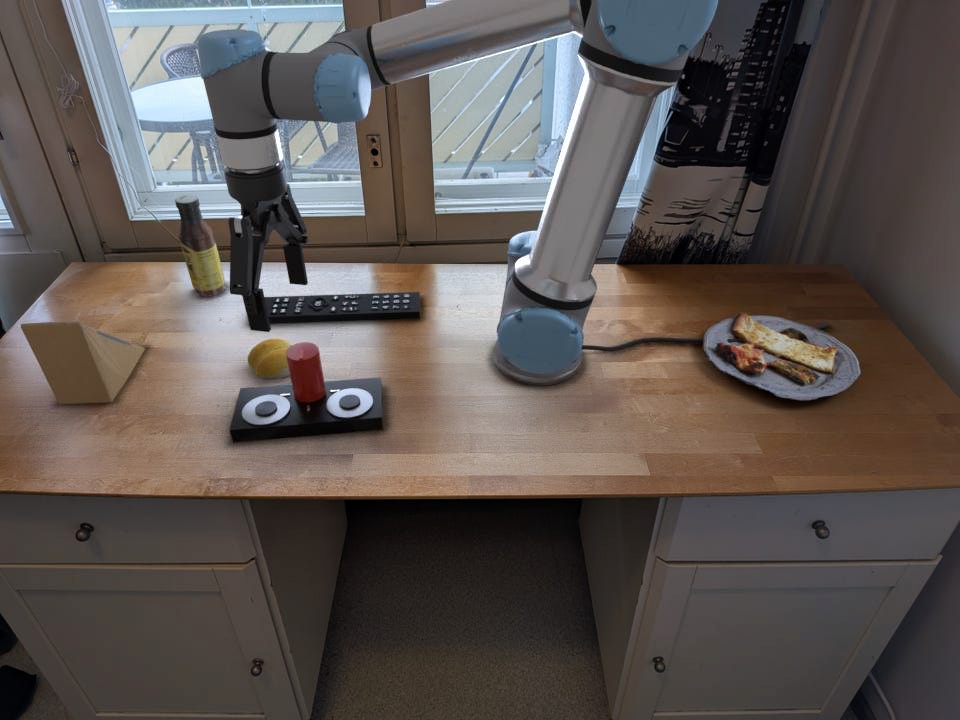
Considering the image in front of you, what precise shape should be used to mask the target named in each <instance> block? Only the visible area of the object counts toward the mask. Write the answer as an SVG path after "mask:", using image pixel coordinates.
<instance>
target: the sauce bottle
mask: <svg viewBox="0 0 960 720" xmlns="http://www.w3.org/2000/svg"><path fill="white" fill-rule="evenodd" d="M174 203H175V207H176V208H177V211H178V214H179V218H180V230H179V236H178V237H179V238H178V240H179V243H180V247H181V251H182V254H183V258H184V262H185V265H186V268H187V271H188V275H189V279H190V282H191V285H192V288H193V290H194V292H195V293H196V294H197V295H198V296H200V297H212V296H217V295H219V294H221V293H223V292H224V290H225V289H226V280H225V279H226V278H225V274H224V271H223V266H222V263H221V262H222V261H221V257H220V255H219V250H218V246H217V243H216V240H215V238H214V237H215V236H214V232H213V230H212V227H211V226H210V224H208V223H207V222H206V221H205V220H204V219H203V215H202V212H201V209H200V200H199V197H198V196H197V195H196V194H183V195H179V196H178V197H176V198H175V199H174Z"/></svg>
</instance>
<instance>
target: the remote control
mask: <svg viewBox="0 0 960 720" xmlns="http://www.w3.org/2000/svg"><path fill="white" fill-rule="evenodd" d="M264 298H265V302H266V307H267V312H268V317H269V321H270V325H283V324H285V325H286V324H308V323H309V324H312V323H314V324H315V323H336V322H337V323H338V322H364V321H366V322H367V321H392V320H397V321H399V320H421V292H420V291H407V292H379V293H376V292H375V293H349V294H348V293H346V294H344V293H343V294H342V293H341V294H317V295H315V294H314V295H286V296H285V295H283V296H264Z"/></svg>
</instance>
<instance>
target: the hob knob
mask: <svg viewBox="0 0 960 720" xmlns="http://www.w3.org/2000/svg"><path fill="white" fill-rule="evenodd" d="M291 345H292V344H291ZM286 357H287V362H288V367H289V372H290V375H289V376H290V381H291V384H292V387H293V391H294V396H295V398H296V399H297V400H298V401H300V402H304V403H310V402H315V401H317V400H319V399H321V398H322V397H323V396H324V395H325V393H326V389H325V383H324V382H325V378H324V373H323V372H324V371H323V364H322V358H321V353H320V348H319V346H318V345H317V344H315V343H313V342H309V341H307V342H306V341H303V342H298V343H295V344H293V345H292V346H291V347H289V348H288V349H287V351H286Z"/></svg>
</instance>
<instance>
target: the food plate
mask: <svg viewBox="0 0 960 720" xmlns="http://www.w3.org/2000/svg"><path fill="white" fill-rule="evenodd" d="M814 327H815V326H810V325H809V324H804V323H801V322H799V321H795V320H791V319H787V318H784V317H779V316H773V315H763V314H762V315H752V314H751V315H749V314H748V313H747V312H746V311H745V312H743V311H741V312H739V313H738V314H737V315H736V316H734V317H728V318H725V319H722V320H721V321H717V322H716V323H714V324H712V325H710V326H709V327H708V328H707V329H706V330H705V331H704V333H703V335H702V339H703V343H702V346H701V350H702V351H703V353H704V355H705V356H704V358H706V357H707V360H708V361H709V362H711V361H712V363H713V364H712V365H713V366H714V368H716V369H717V370H718V371H719V370H720V371H722V373H726V374H727V375H729V376H732V377H734V378H735V379H738V380H739V381H741V382H743V383H745V384H746V385H747V386H752V387H755V388H758V389H759V390H765V391H769V393H772V394H773V395H774V396H776V397H777V398H782V399H789V400H793V401H794V400H796V401H811V400H817V399H819V398H824V397H829V396H834V395H838V394H839V393H842V392H843V391H846V390H848V389H849V388H850V387H851V386H852V385H853V383H854V382H856V380H857V379H858V378H859V376H860V375H861V374H862V372H861V368H860V363H859V360H858V357H857V356H856V354H855V353H854V352H853V350H851V349H850V347H848V346H847V345H846V344H845V343H843V342H841V341H839V340H838V339H837V338H835V337H834V335H831V334H830V333H828V332H826V331H824V330H823V329H820V330H819V329H817V328H814ZM815 329H816V330H815ZM727 339H741V340H742V342H741V343H738V342H732V343H729V342H728V341H727Z"/></svg>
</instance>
